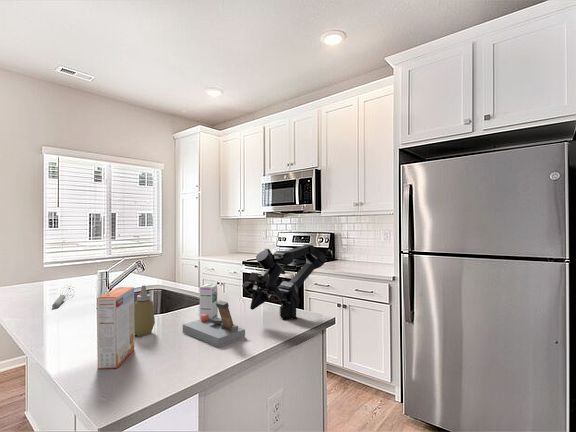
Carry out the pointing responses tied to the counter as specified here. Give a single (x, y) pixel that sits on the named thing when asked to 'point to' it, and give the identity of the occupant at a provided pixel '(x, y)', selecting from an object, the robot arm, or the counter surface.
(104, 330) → the cracker box
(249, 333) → the counter surface
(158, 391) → the counter surface
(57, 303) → the kitchen whisk
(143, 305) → the squeeze bottle
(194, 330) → the panel
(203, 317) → the button
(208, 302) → the syrup box
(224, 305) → the lever
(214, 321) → the block
